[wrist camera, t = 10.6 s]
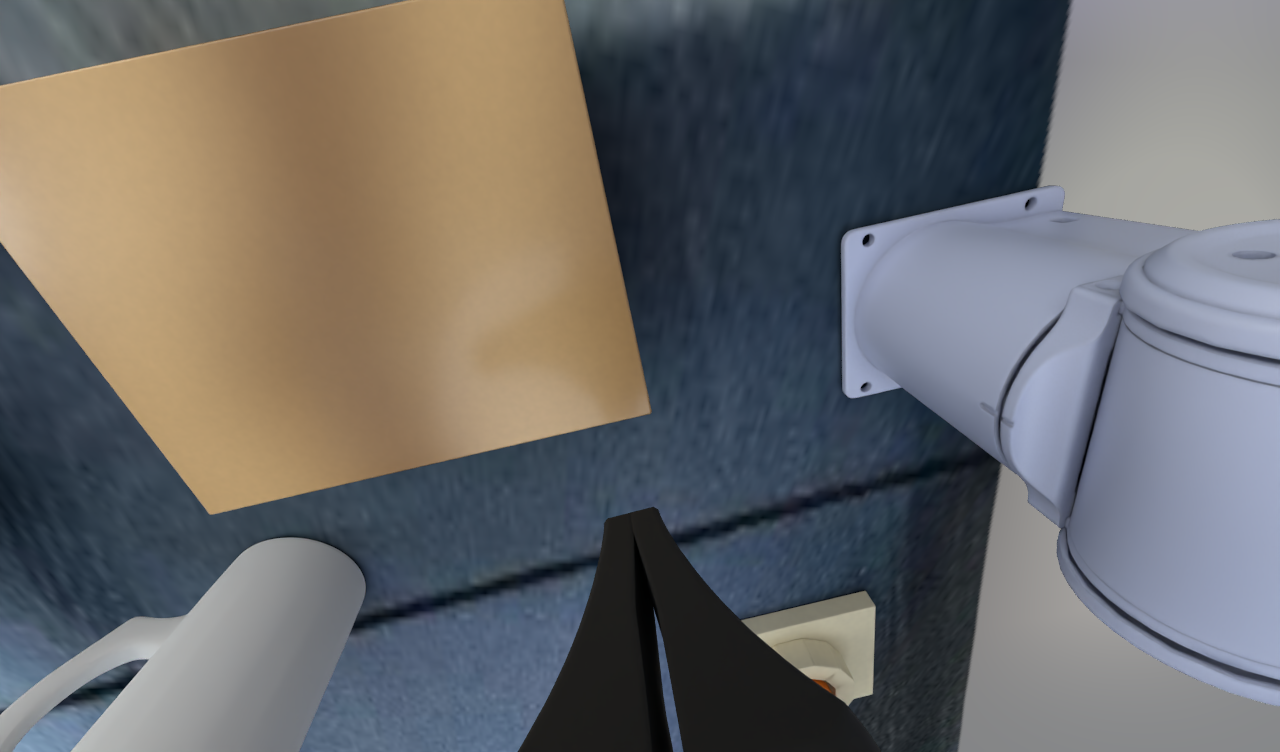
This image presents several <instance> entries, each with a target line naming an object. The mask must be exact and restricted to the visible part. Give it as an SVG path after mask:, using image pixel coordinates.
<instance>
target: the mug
mask: <svg viewBox="0 0 1280 752" xmlns="http://www.w3.org/2000/svg"><path fill="white" fill-rule="evenodd" d="M365 591H366V584H365V580H364V577H363V574H362V572H361V570H360V569H359V567H358V566H357V565H356V563H355V562H354V561H353V560H352V559H351V558H349V557H348V556H347V555H346V554H344V553H343V552H341V551H340V550H338V549H336V548H334V547H332V546H330V545H327V544H325V543H322V542H319V541H315V540H311V539H305V538H295V537H286V538H276V539H270V540H266V541H263V542H260V543H258V544H255V545H253V546H251V547H250V548H248V549H247V550H245V551H244V552H243V553H242V554H240V555H239V556H238V557H237V559H236V560H235V561H234V562H233V563H232V564H231V565H230V566H229V568H228V569H227V570H226V571H225V572H224V573H223V574H222V575H221V577H220V578H219V579H218V580H217V581H216V582H215V583H214V584H213V586H212V587H211V588H210V589H209V590H208V591H207V592H206V594H205V595H204V596H203V597H202V598H201V599H200V601H199V602H198V603H197V604H196V605H195V606H194V608H193V609H192V610H191V611H190V612H189V614H187V615H183V616H179V617H173V618H151V617H135V618H132V619H130V620H129V621H127V622H125V623H124V624H122V625H121V626H119V627H118V628H117V629H115V630H114V631H112V632H111V633H109V634H108V635H106V636H105V637H103V638H102V639H100V640H99V641H97V642H96V643H94V644H93V645H91V646H90V647H88V648H87V649H85V650H84V651H83V652H81V653H80V654H78V655H77V656H75V657H74V658H72V659H71V660H69V661H68V662H66V663H65V664H63V665H62V666H60V667H59V668H58V669H56V670H55V671H53V672H52V673H51V674H49V675H48V676H46V677H45V678H44V679H42V680H41V681H40V682H38V683H37V684H36V685H35V686H33V687H32V688H31V689H29V690H28V691H27V692H26V693H25V694H23V695H22V696H21V697H20V698H19V699H17V700H16V701H15V702H14V703H13V704H12V705H11V706H9V707H8V708H7V709H6V710H5V711H4V712H3V713H2V714H1V715H0V752H12V751H13V750H14V748H15V747H16V745H17V744H18V743H19V742H20V740H21V739H22V738H23V737H24V736H25V734H26V733H27V732H28V731H29V730H30V729H31V728H32V727H33V726H34V725H35V724H36V723H37V722H38V721H39V720H40V719H41V718H42V717H43V716H45V715H46V714H47V713H48V712H49V711H50V710H51V709H53V708H54V707H55V706H56V705H57V704H59V703H60V702H61V701H62V700H64V699H65V698H66V697H67V696H69V695H70V694H71V693H73V692H74V691H75V690H77V689H78V688H80V687H81V686H83V685H84V684H86V683H87V682H89V681H90V680H92V679H94V678H95V677H97V676H99V675H101V674H103V673H105V672H107V671H109V670H111V669H113V668H115V667H117V666H119V665H122V664H124V663H127V662H130V661H133V660H138V659H150V660H149V661H148V662H147V663H146V664H145V665H144V667H143V668H142V669H141V670H140V671H139V672H138V674H137V675H136V676H135V677H134V678H133V679H132V681H131V682H130V683H129V684H128V685H127V686H126V688H125V689H124V690H123V691H122V692H121V693H120V695H119V696H118V697H117V698H116V699H115V700H114V702H113V703H112V704H111V705H110V706H109V707H108V709H107V710H106V711H105V712H104V713H103V714H102V716H101V717H100V718H99V719H98V720H97V721H96V723H95V724H94V725H93V726H92V727H91V728H90V730H89V731H88V732H87V733H86V734H85V735H84V737H83V738H82V739H81V740H80V741H79V742H78V744H77V745H76V746H75V747H74V748H73V749H72V751H71V752H299V750H300V748H301V746H302V743H303V741H304V739H305V736H306V734H307V732H308V729H309V727H310V725H311V722H312V720H313V718H314V715H315V713H316V711H317V708H318V706H319V704H320V701H321V699H322V697H323V695H324V692H325V690H326V688H327V685H328V683H329V681H330V678H331V676H332V674H333V672H334V669H335V667H336V665H337V662H338V660H339V658H340V656H341V653H342V651H343V649H344V646H345V644H346V641H347V639H348V636H349V634H350V631H351V629H352V626H353V624H354V622H355V619H356V617H357V614H358V612H359V610H360V607H361V605H362V603H363V600H364V597H365Z"/></svg>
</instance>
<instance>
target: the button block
mask: <svg viewBox="0 0 1280 752" xmlns="http://www.w3.org/2000/svg"><path fill="white" fill-rule="evenodd" d="M741 621H742V622H743V623H744V624H745V625H746V626H747V627H748V628H749V629H751V630H752V631H753V632H754V633H755V634H756V635H757V636H758V637H760V638H761V639H762V640H763V641H764V642H765V643H767V644H768V645H769V646H770V647H771V648H772V649H774V650H775V651H776V652H777V653H778V654H780V655H781V656H782V657H783V658H784V659H785V660H787V661H788V662H789V663H791V664H792V665H793V666H795V667H796V668H797V669H798V670H800V671H801V672H802V673H804V674H805V675H806V676H808V677H809V678H810V679H816V680H823V681H825V682H826V683H827V685H828V686H829V689H830V691H831V693H832V694H833V695H835V696H836V697H838V698H839V699H841V700H842V701H843V702H845V703H846V705H847V706H848V705H849V704H850V703H851V701H852V700H853V699H855V698H859V697H863V696H867V695H871V694H873V667H874V637H875V605H874V603H873V602H872V600H871V599H870V597H869V595H868V594H867V592H866V591H862V592H858V593H853V594H849V595H845V596H841V597H837V598H832V599H828V600H824V601H820V602H816V603H811V604H807V605H803V606H799V607H795V608H791V609H786V610H782V611H778V612H774V613H770V614H765V615H761V616H757V617H753V618H749V619H745V620H741Z"/></svg>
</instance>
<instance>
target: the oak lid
mask: <svg viewBox="0 0 1280 752" xmlns="http://www.w3.org/2000/svg"><path fill="white" fill-rule="evenodd" d="M0 242H1V244H2V245H3V246H4V247H5V249H6V250H7V251H8V253H9V254H10V255H11V257H12V258H13V259H14V260H15V262H16V263H17V264H18V266H19V267H20V268H21V270H22V271H23V272H24V273H25V275H26V276H27V277H28V279H29V280H30V281H31V283H32V284H33V285H34V286H35V288H36V289H37V290H38V292H39V293H40V294H41V296H42V297H43V298H44V299H45V301H46V302H47V303H48V305H49V306H50V307H51V309H52V310H53V311H54V312H55V314H56V315H57V316H58V318H59V319H60V320H61V322H62V323H63V324H64V325H65V327H66V328H67V329H68V331H69V332H70V333H71V335H72V336H73V337H74V338H75V340H76V341H77V342H78V344H79V345H80V346H81V348H82V349H83V350H84V351H85V353H86V354H87V355H88V357H89V358H90V359H91V361H92V362H93V363H94V364H95V366H96V367H97V368H98V370H99V371H100V372H101V374H102V375H103V376H104V377H105V379H106V380H107V381H108V383H109V384H110V385H111V387H112V388H113V389H114V390H115V392H116V393H117V394H118V396H119V397H120V398H121V400H122V401H123V402H124V403H125V405H126V406H127V407H128V409H129V410H130V411H131V413H132V414H133V415H134V416H135V418H136V419H137V420H138V422H139V423H140V424H141V426H142V427H143V428H144V429H145V431H146V432H147V433H148V435H149V436H150V437H151V439H152V440H153V441H154V442H155V444H156V445H157V446H158V448H159V449H160V450H161V452H162V453H163V454H164V455H165V457H166V458H167V459H168V461H169V462H170V463H171V465H172V466H173V467H174V468H175V470H176V471H177V472H178V474H179V475H180V476H181V478H182V479H183V480H184V481H185V483H186V484H187V485H188V487H189V488H190V489H191V491H192V492H193V493H194V494H195V496H196V497H197V498H198V500H199V501H200V502H201V504H202V505H203V506H204V507H205V509H206V510H207V511H208V513H209V514H211V515H212V514H217V513H221V512H226V511H230V510H234V509H239V508H243V507H247V506H252V505H256V504H260V503H265V502H269V501H273V500H278V499H282V498H286V497H291V496H295V495H299V494H304V493H308V492H313V491H317V490H321V489H326V488H330V487H334V486H339V485H343V484H347V483H352V482H356V481H360V480H365V479H369V478H373V477H378V476H382V475H386V474H391V473H395V472H400V471H404V470H408V469H413V468H417V467H421V466H426V465H430V464H434V463H439V462H443V461H447V460H452V459H456V458H460V457H465V456H469V455H473V454H478V453H482V452H486V451H491V450H495V449H500V448H504V447H508V446H513V445H517V444H521V443H526V442H530V441H534V440H539V439H543V438H547V437H552V436H556V435H560V434H565V433H569V432H573V431H578V430H582V429H587V428H591V427H595V426H600V425H604V424H608V423H613V422H617V421H621V420H626V419H630V418H634V417H639V416H643V415H647V414H651V412H652V410H651V406H650V401H649V396H648V392H647V387H646V382H645V377H644V373H643V368H642V363H641V359H640V354H639V349H638V345H637V340H636V335H635V330H634V326H633V321H632V316H631V312H630V307H629V302H628V298H627V293H626V288H625V283H624V279H623V274H622V269H621V265H620V260H619V255H618V251H617V246H616V241H615V236H614V232H613V227H612V222H611V218H610V213H609V208H608V204H607V199H606V194H605V189H604V185H603V180H602V175H601V171H600V166H599V161H598V157H597V152H596V147H595V142H594V138H593V133H592V128H591V124H590V119H589V114H588V110H587V105H586V100H585V95H584V91H583V86H582V81H581V77H580V72H579V67H578V63H577V58H576V53H575V48H574V44H573V39H572V34H571V30H570V25H569V20H568V16H567V11H566V6H565V1H564V0H407V1H402V2H397V3H392V4H387V5H383V6H378V7H373V8H368V9H364V10H359V11H354V12H349V13H344V14H340V15H335V16H330V17H325V18H321V19H316V20H311V21H306V22H301V23H297V24H292V25H287V26H282V27H278V28H273V29H268V30H263V31H258V32H254V33H249V34H244V35H239V36H235V37H230V38H225V39H220V40H215V41H211V42H206V43H201V44H196V45H192V46H187V47H182V48H177V49H172V50H168V51H163V52H158V53H153V54H149V55H144V56H139V57H134V58H130V59H125V60H120V61H115V62H110V63H106V64H101V65H96V66H91V67H87V68H82V69H77V70H72V71H67V72H63V73H58V74H53V75H48V76H44V77H39V78H34V79H29V80H24V81H20V82H15V83H10V84H5V85H1V86H0Z"/></svg>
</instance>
